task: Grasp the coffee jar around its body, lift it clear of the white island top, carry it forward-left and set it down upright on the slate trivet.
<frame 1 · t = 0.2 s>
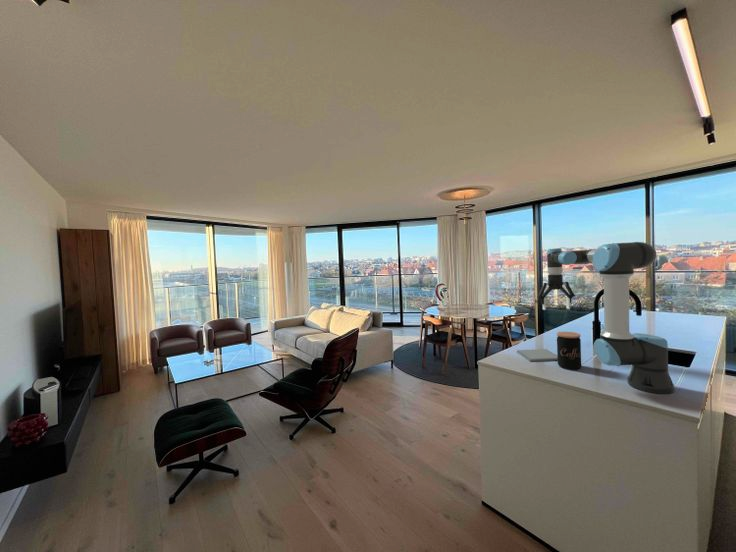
hand: (556, 309, 182), 28 cm above the table, fingers open, 13 cm apart
slate trivet: (538, 356, 182), on the table
coffee jar: (569, 367, 162), on the table
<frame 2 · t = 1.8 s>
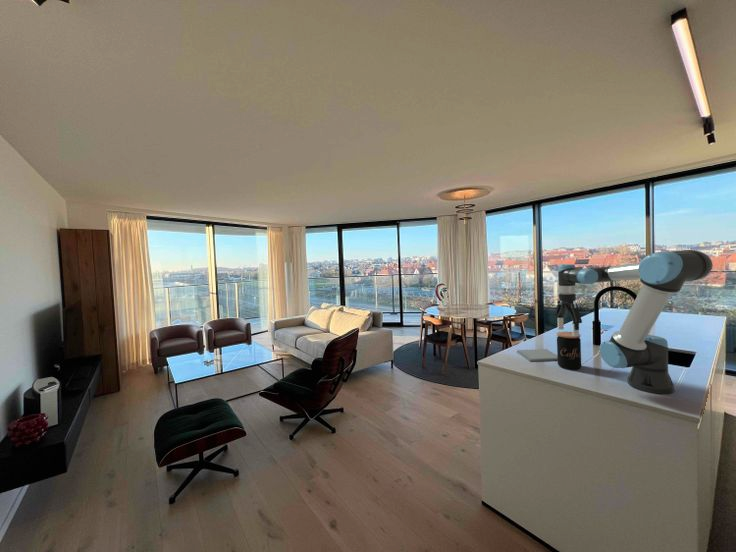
hand: (567, 332, 162), 19 cm above the table, fingers open, 13 cm apart
nothing on the table moved.
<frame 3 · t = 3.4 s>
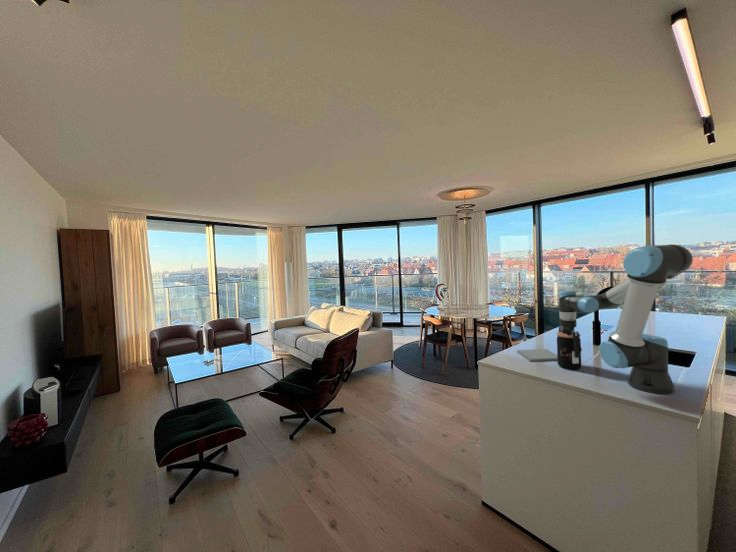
hand: (569, 359, 162), 4 cm above the table, fingers closed on coffee jar, 11 cm apart
coffee jar: (569, 367, 162), on the table, touching gripper
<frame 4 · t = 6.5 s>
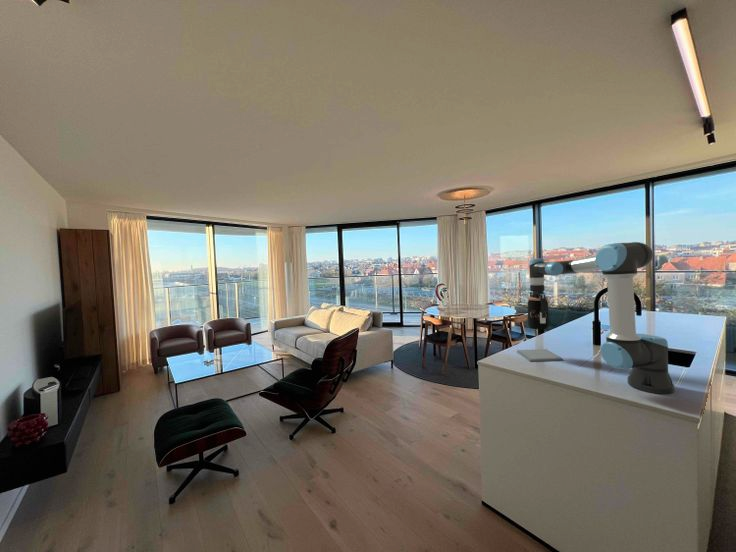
hand: (538, 321, 180), 21 cm above the table, fingers closed on coffee jar, 11 cm apart
coffee jar: (538, 327, 180), point 17 cm above the table, touching gripper
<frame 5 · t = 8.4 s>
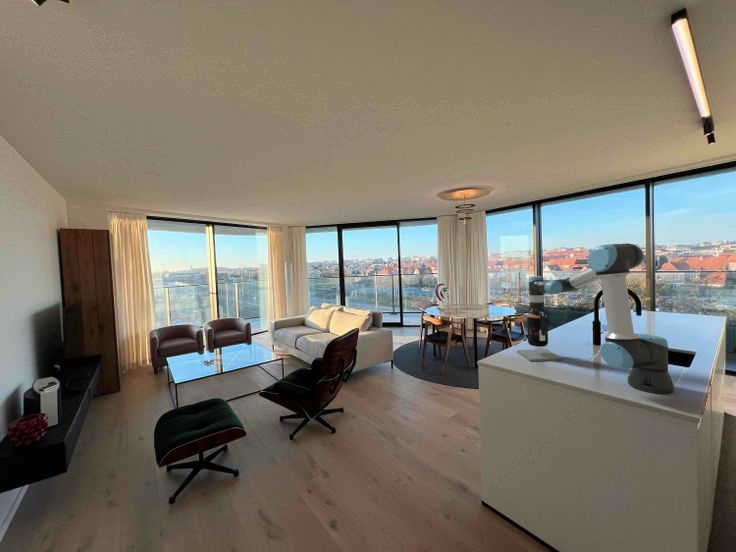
hand: (537, 338, 181), 11 cm above the table, fingers closed on coffee jar, 11 cm apart
coffee jar: (537, 344, 182), point 7 cm above the table, touching gripper
when the fingers open (7 cm above the table, at t = 9.9 s): coffee jar drops 1 cm, resting on slate trivet.
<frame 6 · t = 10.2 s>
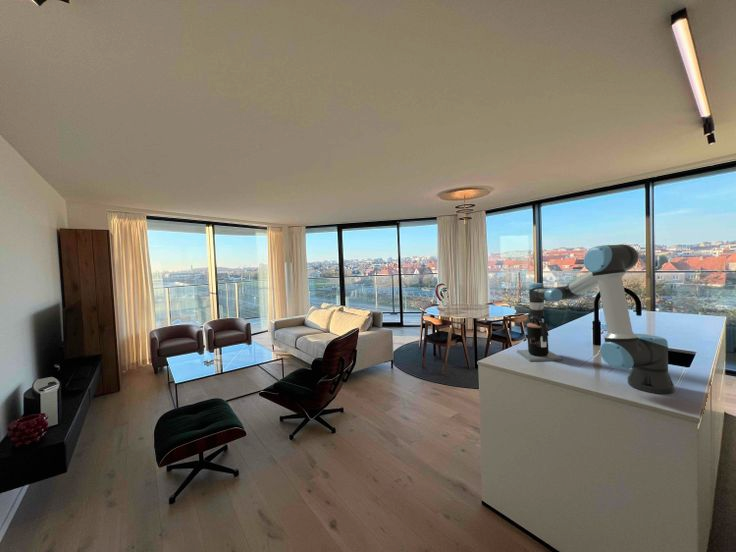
hand: (538, 343, 181), 7 cm above the table, fingers open, 13 cm apart
coffee jar: (538, 354, 182), point 1 cm above the table, touching slate trivet
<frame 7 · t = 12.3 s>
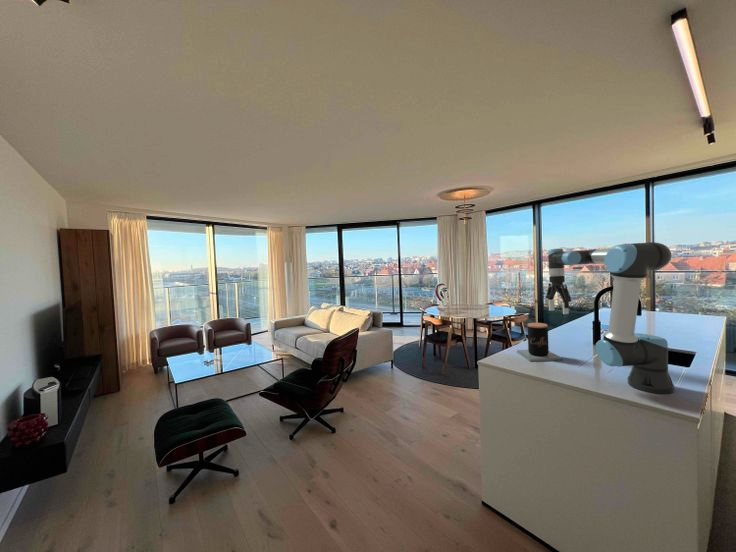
hand: (558, 312, 174), 27 cm above the table, fingers open, 13 cm apart
nothing on the table moved.
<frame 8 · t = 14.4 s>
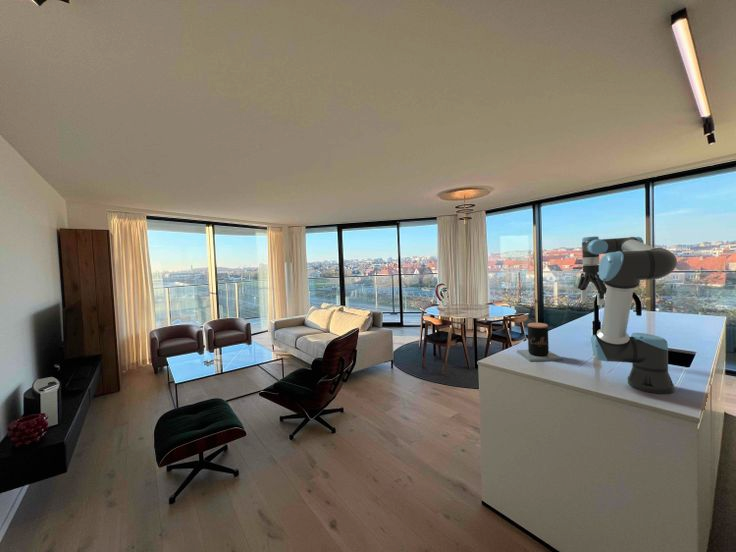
hand: (591, 303, 167), 33 cm above the table, fingers open, 13 cm apart
nothing on the table moved.
at the end: coffee jar inside the target area on the slate trivet (0.1 cm from its centre), point 1.1 cm above the slate trivet's base; coffee jar tilted 0°; the gripper is holding nothing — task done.
